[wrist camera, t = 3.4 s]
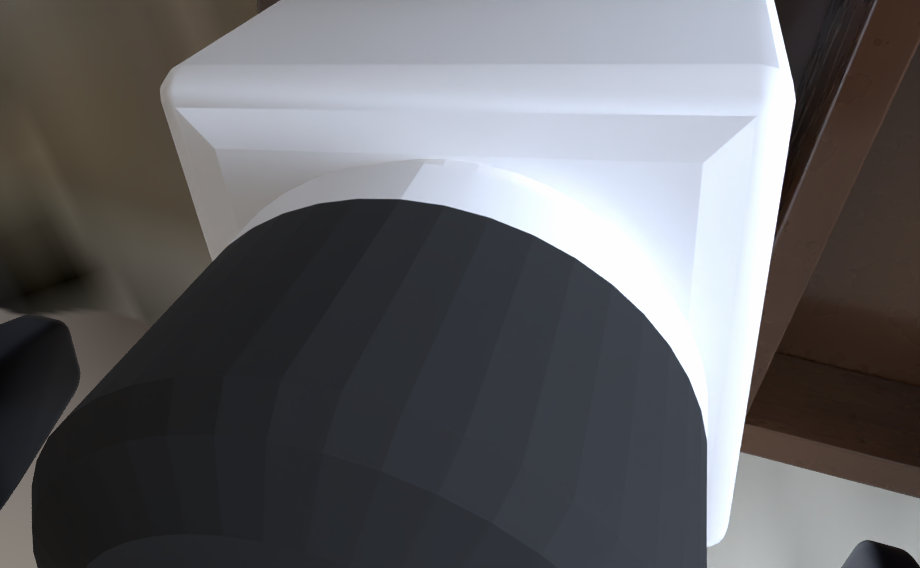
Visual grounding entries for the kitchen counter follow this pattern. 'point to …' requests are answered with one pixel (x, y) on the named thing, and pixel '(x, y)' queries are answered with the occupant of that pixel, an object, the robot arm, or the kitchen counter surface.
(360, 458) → the medicine bottle
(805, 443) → the holder
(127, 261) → the kitchen counter surface
